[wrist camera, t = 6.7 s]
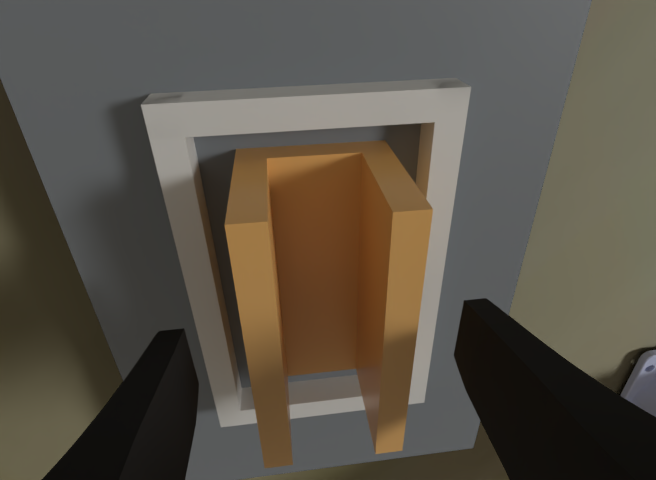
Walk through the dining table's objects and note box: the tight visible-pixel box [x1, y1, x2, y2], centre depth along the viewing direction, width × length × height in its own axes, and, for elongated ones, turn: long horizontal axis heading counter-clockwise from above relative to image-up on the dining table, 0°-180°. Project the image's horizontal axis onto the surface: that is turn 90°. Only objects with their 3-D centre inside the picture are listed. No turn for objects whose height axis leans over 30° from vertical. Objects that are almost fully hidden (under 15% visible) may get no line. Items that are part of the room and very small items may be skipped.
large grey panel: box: [0, 0, 592, 480], centre depth 15 cm, size 20×14×4 cm
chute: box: [225, 140, 433, 468], centre depth 12 cm, size 8×4×4 cm, turn 1°
